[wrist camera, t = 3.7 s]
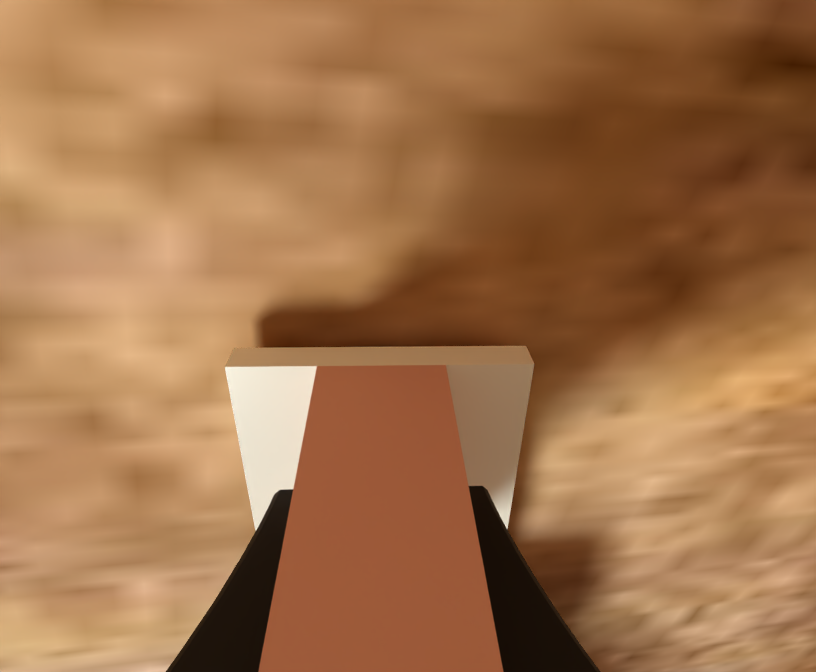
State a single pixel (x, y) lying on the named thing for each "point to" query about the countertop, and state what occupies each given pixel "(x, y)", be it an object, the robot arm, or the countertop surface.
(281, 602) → the pink and white block
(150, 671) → the countertop surface
